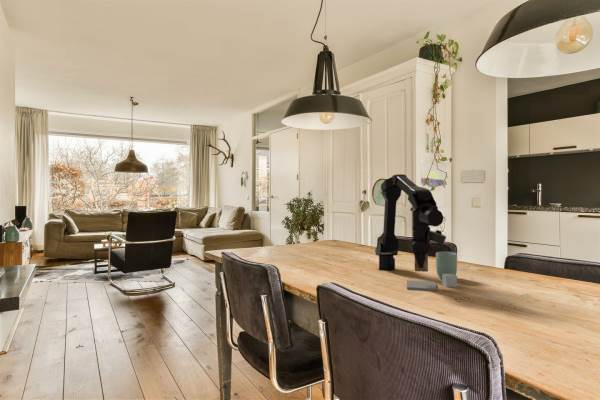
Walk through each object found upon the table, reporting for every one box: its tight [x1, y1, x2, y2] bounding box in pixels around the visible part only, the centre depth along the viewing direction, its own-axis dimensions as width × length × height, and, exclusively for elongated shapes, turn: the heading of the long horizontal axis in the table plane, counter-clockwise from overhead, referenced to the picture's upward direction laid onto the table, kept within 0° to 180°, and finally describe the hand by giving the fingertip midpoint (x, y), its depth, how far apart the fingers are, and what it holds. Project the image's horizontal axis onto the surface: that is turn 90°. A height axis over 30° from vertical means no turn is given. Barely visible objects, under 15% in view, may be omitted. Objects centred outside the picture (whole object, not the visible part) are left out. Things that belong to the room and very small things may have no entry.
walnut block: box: [414, 253, 429, 273], centre depth 132 cm, size 4×4×6 cm
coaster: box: [406, 280, 438, 292], centre depth 133 cm, size 10×10×1 cm
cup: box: [435, 251, 458, 279], centre depth 144 cm, size 8×8×10 cm
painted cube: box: [441, 274, 458, 288], centre depth 133 cm, size 4×4×4 cm
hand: (420, 266), depth 133 cm, fingers closed on walnut block, 4 cm apart
